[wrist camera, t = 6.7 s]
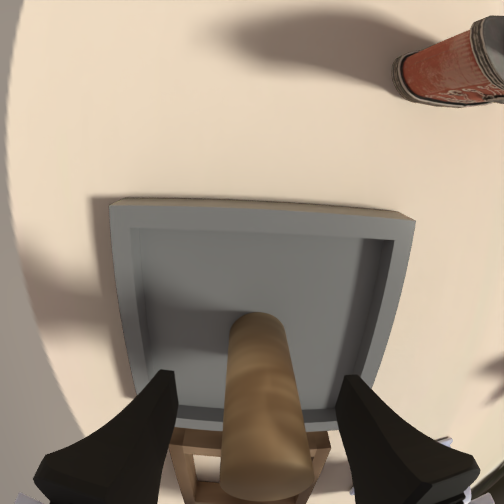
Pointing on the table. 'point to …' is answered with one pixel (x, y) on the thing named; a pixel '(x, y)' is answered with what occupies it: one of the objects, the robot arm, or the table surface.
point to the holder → (209, 444)
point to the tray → (256, 292)
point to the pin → (262, 415)
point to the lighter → (456, 69)
